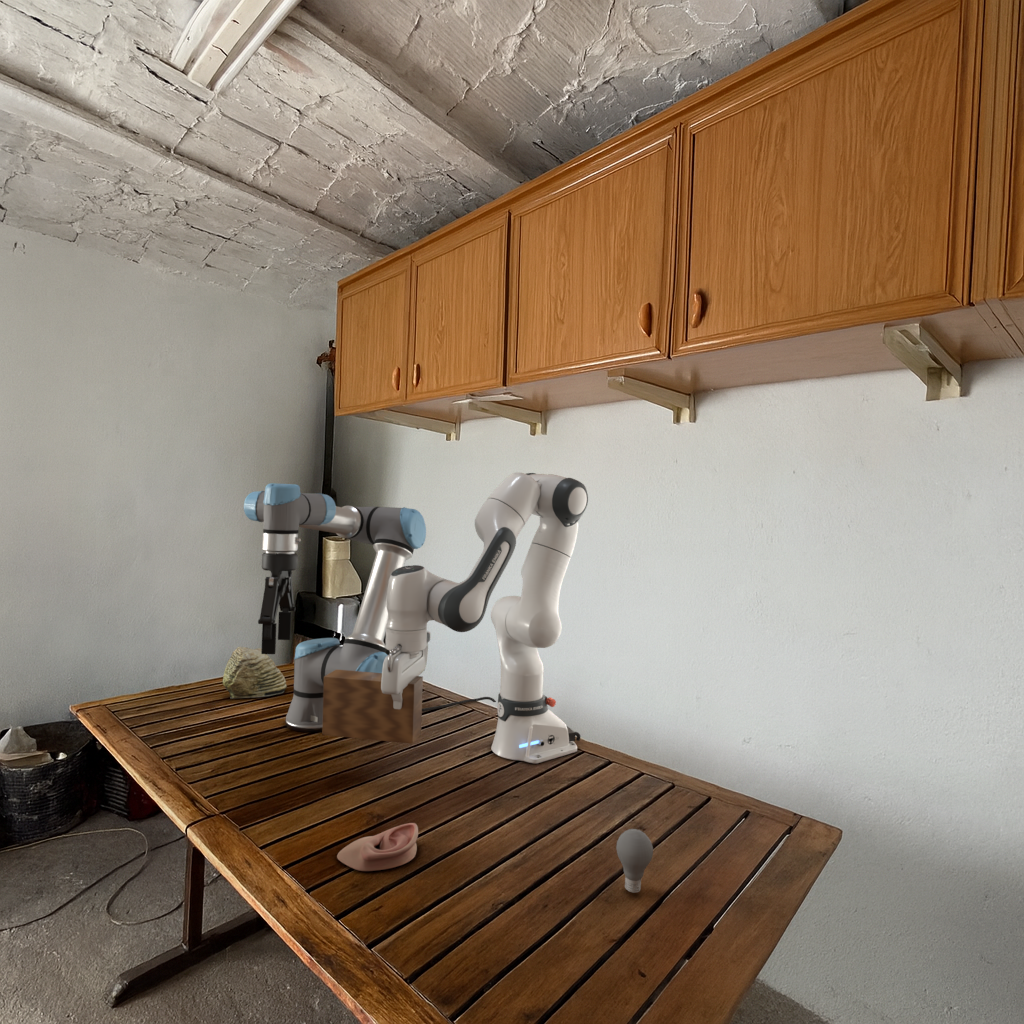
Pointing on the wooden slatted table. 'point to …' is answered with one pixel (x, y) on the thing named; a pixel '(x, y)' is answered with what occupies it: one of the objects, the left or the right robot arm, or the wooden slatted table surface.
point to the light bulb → (634, 857)
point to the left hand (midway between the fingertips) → (276, 646)
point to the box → (370, 708)
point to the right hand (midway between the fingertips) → (404, 702)
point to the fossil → (252, 674)
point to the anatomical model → (382, 849)
